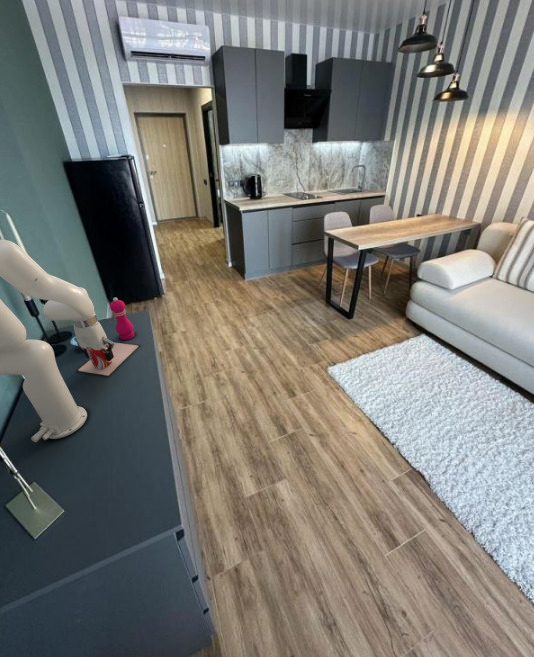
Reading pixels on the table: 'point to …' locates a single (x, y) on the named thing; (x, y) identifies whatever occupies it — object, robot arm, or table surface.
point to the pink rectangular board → (119, 354)
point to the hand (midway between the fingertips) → (100, 357)
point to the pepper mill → (122, 320)
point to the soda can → (98, 358)
